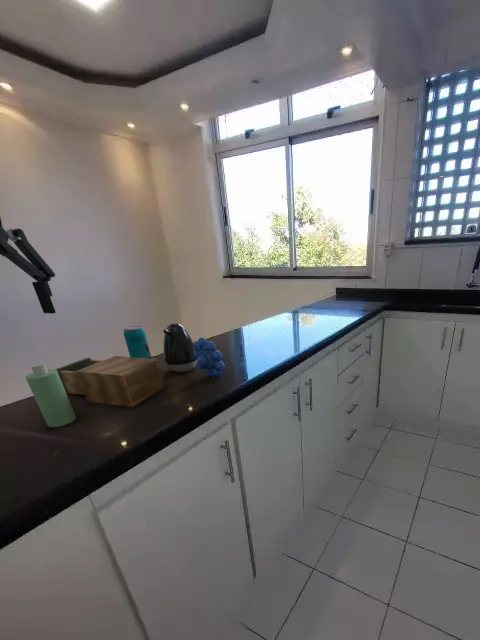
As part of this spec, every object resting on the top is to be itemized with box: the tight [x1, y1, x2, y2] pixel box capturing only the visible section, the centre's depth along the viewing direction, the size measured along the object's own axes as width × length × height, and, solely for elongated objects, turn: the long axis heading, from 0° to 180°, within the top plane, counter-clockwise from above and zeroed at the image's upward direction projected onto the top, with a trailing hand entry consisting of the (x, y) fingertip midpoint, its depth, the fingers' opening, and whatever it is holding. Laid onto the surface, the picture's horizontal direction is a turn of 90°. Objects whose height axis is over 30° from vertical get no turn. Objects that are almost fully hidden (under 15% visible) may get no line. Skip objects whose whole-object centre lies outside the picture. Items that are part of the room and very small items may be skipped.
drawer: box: [54, 357, 103, 396], centre depth 87 cm, size 18×11×7 cm, turn 73°
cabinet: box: [76, 355, 165, 408], centre depth 83 cm, size 15×13×9 cm
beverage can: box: [123, 325, 153, 359], centre depth 96 cm, size 6×6×15 cm
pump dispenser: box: [162, 322, 198, 374], centre depth 98 cm, size 10×10×15 cm
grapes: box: [193, 337, 226, 378], centre depth 92 cm, size 12×7×12 cm, turn 61°
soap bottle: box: [24, 362, 77, 428], centre depth 70 cm, size 6×6×14 cm
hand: (17, 319), depth 63 cm, fingers open, 13 cm apart
